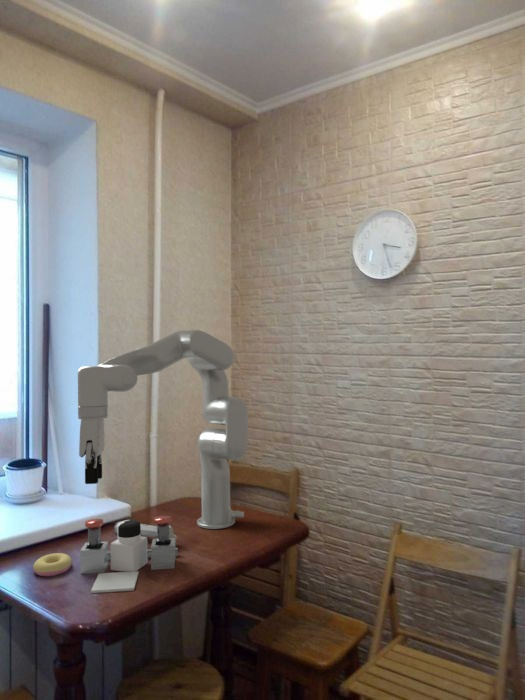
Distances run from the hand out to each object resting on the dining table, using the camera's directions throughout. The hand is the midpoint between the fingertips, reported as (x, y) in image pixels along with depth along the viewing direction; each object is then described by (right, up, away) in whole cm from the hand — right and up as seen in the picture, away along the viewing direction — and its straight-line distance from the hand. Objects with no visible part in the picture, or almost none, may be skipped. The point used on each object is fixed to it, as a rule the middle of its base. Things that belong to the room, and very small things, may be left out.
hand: (93, 480), depth 142 cm
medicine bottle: (+9, -23, +1) cm, 25 cm away
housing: (+9, -23, +3) cm, 25 cm away
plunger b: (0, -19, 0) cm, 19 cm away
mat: (+8, -23, -9) cm, 26 cm away
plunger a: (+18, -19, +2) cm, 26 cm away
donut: (-11, -24, 0) cm, 26 cm away
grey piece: (+9, -24, +21) cm, 33 cm away
